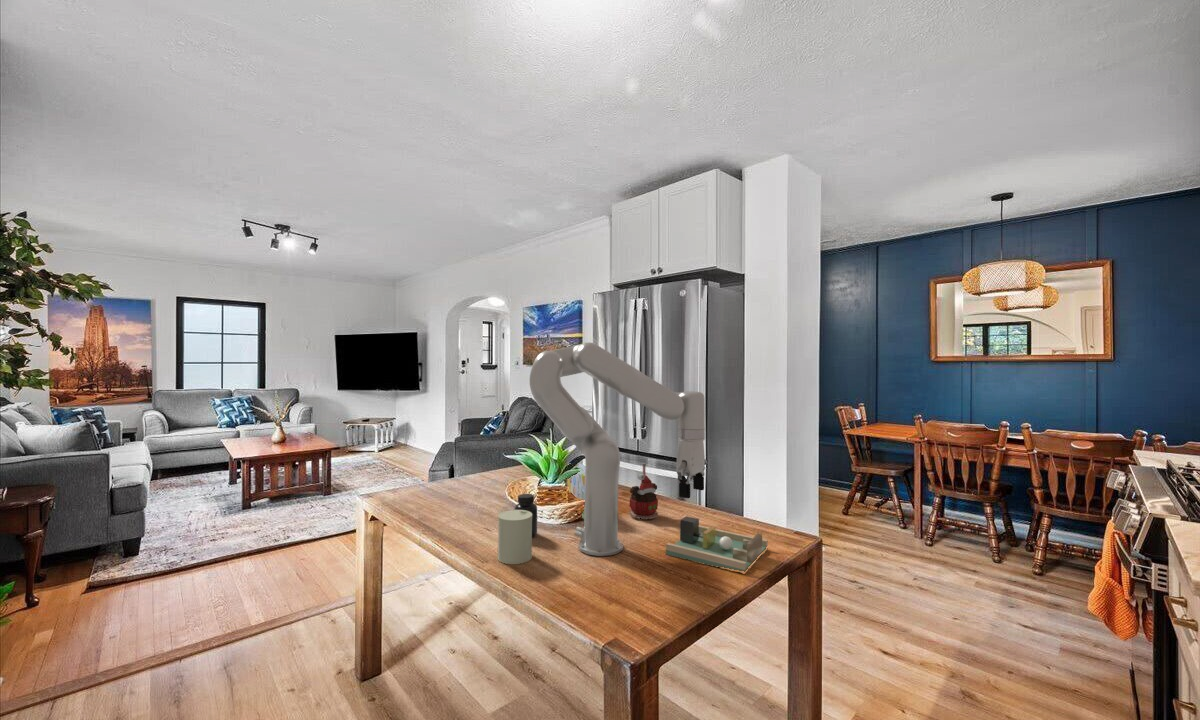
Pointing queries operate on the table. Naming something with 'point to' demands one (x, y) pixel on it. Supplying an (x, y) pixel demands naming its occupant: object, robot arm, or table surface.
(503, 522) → the can
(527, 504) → the supplement bottle
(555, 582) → the table surface
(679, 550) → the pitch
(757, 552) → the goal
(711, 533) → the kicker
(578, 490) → the snack box
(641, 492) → the santa hat candy apple
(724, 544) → the ball
